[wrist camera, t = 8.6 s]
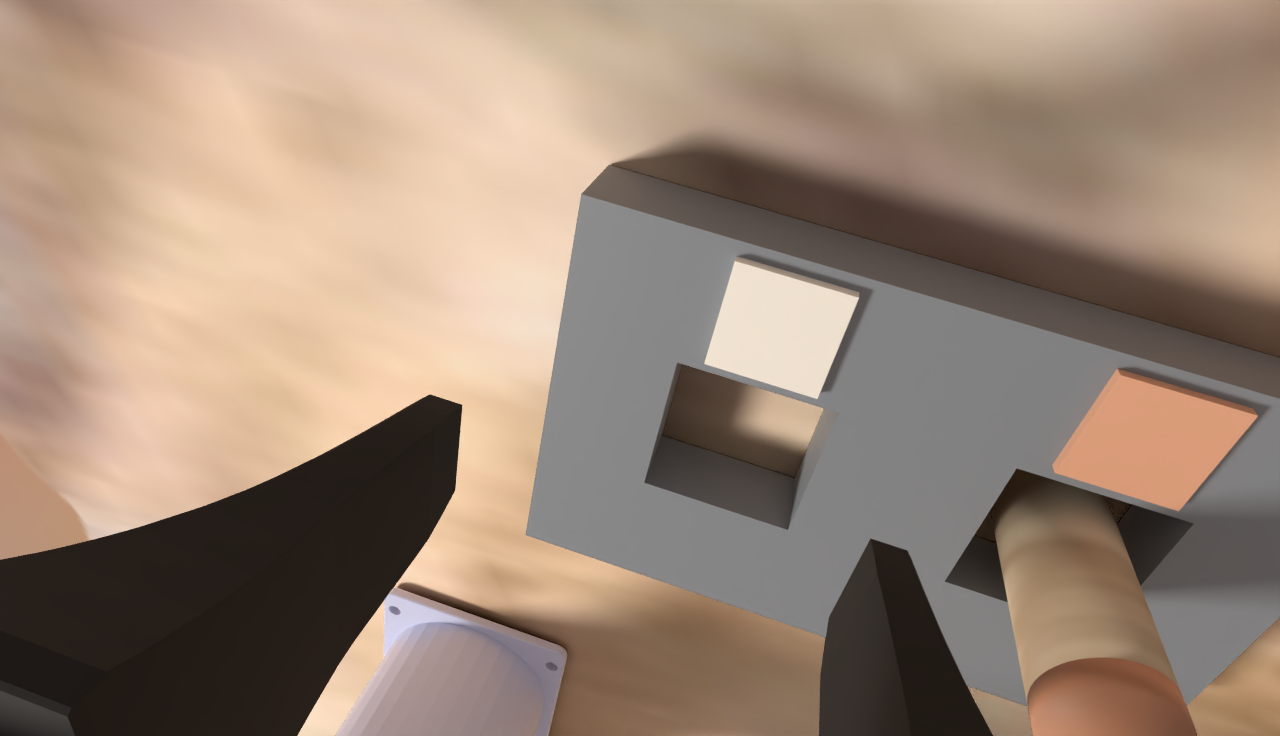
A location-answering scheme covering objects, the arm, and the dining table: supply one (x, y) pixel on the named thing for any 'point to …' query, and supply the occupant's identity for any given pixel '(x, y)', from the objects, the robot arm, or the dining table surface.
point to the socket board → (895, 427)
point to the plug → (1081, 617)
